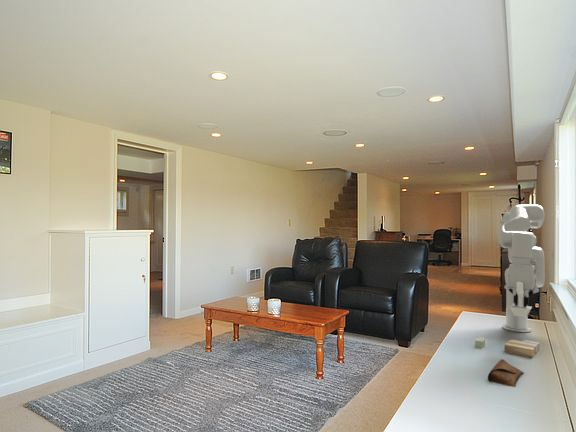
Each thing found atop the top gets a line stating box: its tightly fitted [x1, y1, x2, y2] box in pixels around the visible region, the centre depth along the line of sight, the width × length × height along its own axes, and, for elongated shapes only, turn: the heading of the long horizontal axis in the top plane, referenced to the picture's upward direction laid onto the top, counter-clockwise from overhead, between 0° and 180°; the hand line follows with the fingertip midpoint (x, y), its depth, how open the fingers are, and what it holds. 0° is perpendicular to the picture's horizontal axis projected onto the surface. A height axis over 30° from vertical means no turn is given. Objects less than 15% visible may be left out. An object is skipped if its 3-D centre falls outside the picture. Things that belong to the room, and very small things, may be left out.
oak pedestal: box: [504, 339, 539, 359], centre depth 167 cm, size 11×10×3 cm
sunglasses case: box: [487, 359, 525, 388], centre depth 139 cm, size 18×7×7 cm, turn 142°
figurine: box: [510, 282, 533, 317], centre depth 168 cm, size 7×9×15 cm
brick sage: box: [474, 337, 486, 349], centre depth 174 cm, size 6×3×3 cm, turn 146°
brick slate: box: [522, 339, 541, 351], centre depth 172 cm, size 6×3×3 cm, turn 42°
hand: (521, 305), depth 168 cm, fingers closed on figurine, 2 cm apart
